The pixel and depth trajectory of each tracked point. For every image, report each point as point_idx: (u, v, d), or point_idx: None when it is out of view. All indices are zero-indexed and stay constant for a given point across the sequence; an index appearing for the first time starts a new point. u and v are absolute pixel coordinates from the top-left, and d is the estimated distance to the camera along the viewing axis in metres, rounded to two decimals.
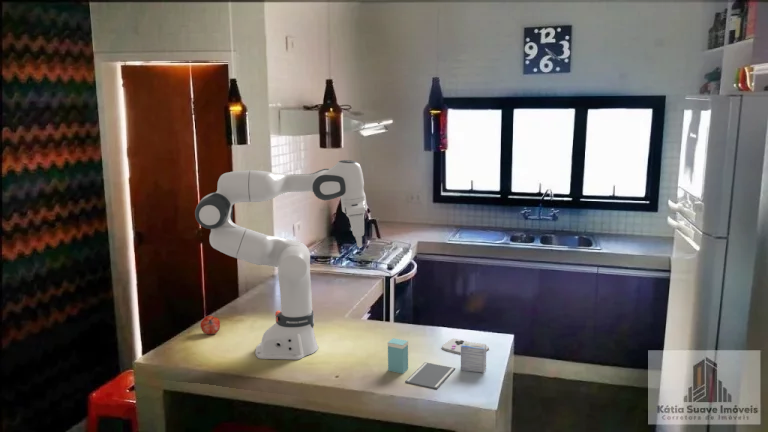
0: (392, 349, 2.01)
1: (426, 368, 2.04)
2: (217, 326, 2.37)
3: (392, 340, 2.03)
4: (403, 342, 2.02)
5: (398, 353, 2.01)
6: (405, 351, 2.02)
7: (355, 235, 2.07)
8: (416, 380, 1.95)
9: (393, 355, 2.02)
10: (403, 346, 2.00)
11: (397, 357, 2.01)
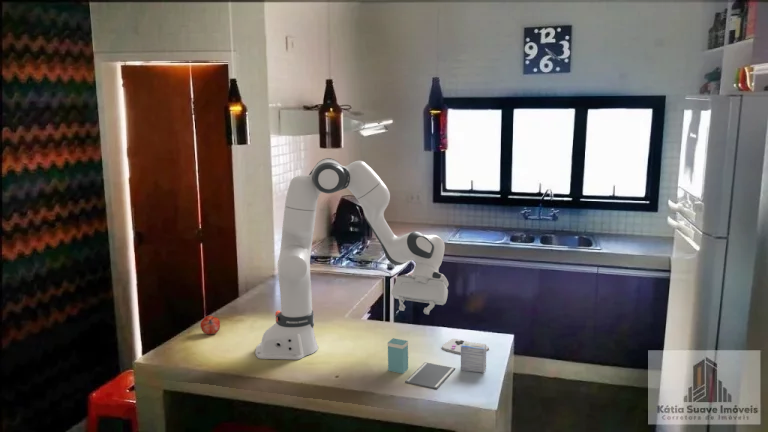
0: (392, 349, 2.01)
1: (426, 368, 2.04)
2: (217, 326, 2.37)
3: (392, 340, 2.03)
4: (403, 342, 2.02)
5: (398, 353, 2.01)
6: (405, 351, 2.02)
7: (442, 300, 2.09)
8: (416, 380, 1.95)
9: (393, 355, 2.02)
10: (403, 346, 2.00)
11: (397, 357, 2.01)
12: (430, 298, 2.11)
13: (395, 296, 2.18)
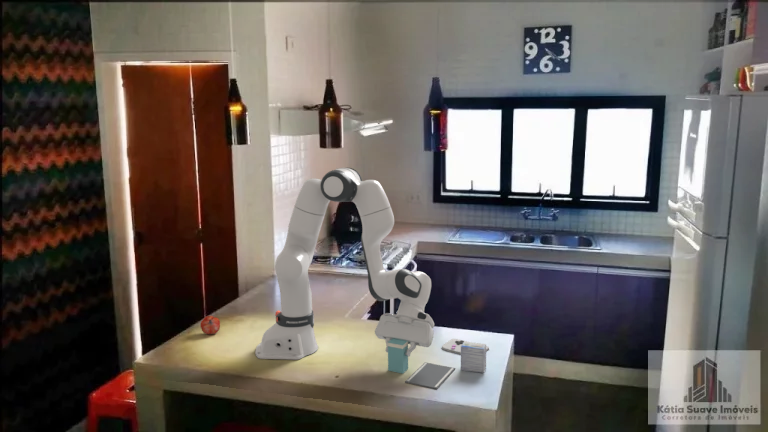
0: (392, 349, 2.01)
1: (426, 368, 2.04)
2: (217, 326, 2.37)
3: (392, 340, 2.03)
4: (403, 342, 2.02)
5: (398, 353, 2.01)
6: None
7: (427, 342, 2.00)
8: (416, 380, 1.95)
9: (393, 355, 2.02)
10: (403, 346, 2.00)
11: (397, 357, 2.01)
12: (415, 340, 2.01)
13: (378, 336, 2.08)
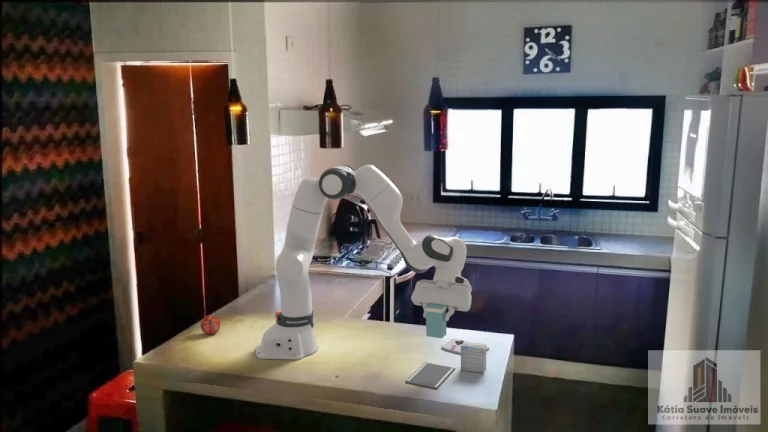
0: (430, 314, 1.99)
1: (426, 368, 2.04)
2: (217, 326, 2.37)
3: (430, 305, 2.01)
4: (441, 306, 1.99)
5: (437, 318, 1.98)
6: None
7: (466, 306, 1.97)
8: (416, 380, 1.95)
9: (432, 320, 1.99)
10: (442, 310, 1.97)
11: (436, 322, 1.98)
12: (453, 304, 1.98)
13: (415, 302, 2.06)
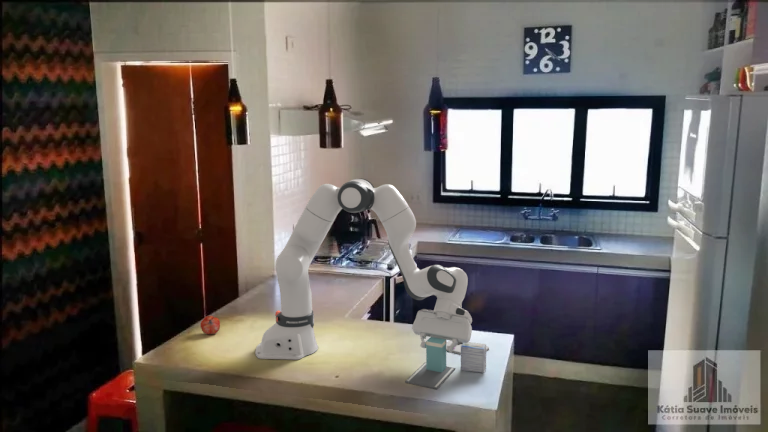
0: (431, 348, 2.01)
1: None
2: (217, 326, 2.37)
3: (430, 339, 2.03)
4: (442, 341, 2.01)
5: (437, 352, 2.00)
6: (443, 350, 2.01)
7: (466, 338, 1.99)
8: (416, 380, 1.95)
9: (432, 354, 2.01)
10: (442, 345, 1.99)
11: (436, 356, 2.01)
12: (453, 336, 2.00)
13: (416, 332, 2.08)
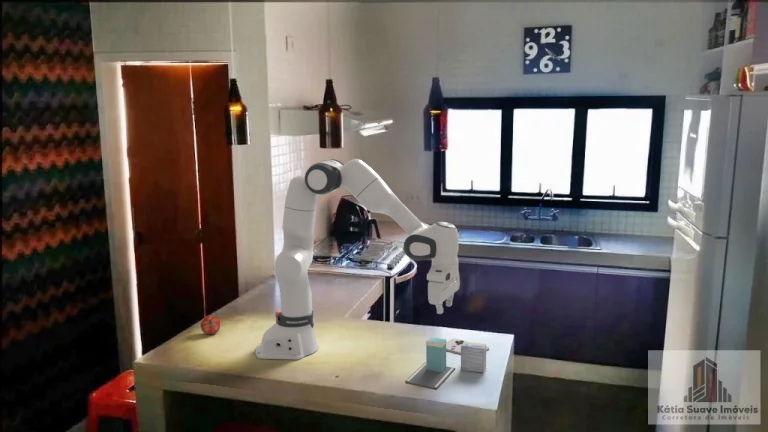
0: (431, 348, 2.01)
1: None
2: (217, 326, 2.37)
3: (430, 339, 2.03)
4: (442, 341, 2.01)
5: (437, 352, 2.00)
6: (443, 350, 2.01)
7: (430, 302, 1.98)
8: (416, 380, 1.95)
9: (432, 354, 2.01)
10: (442, 345, 1.99)
11: (436, 356, 2.01)
12: None
13: None
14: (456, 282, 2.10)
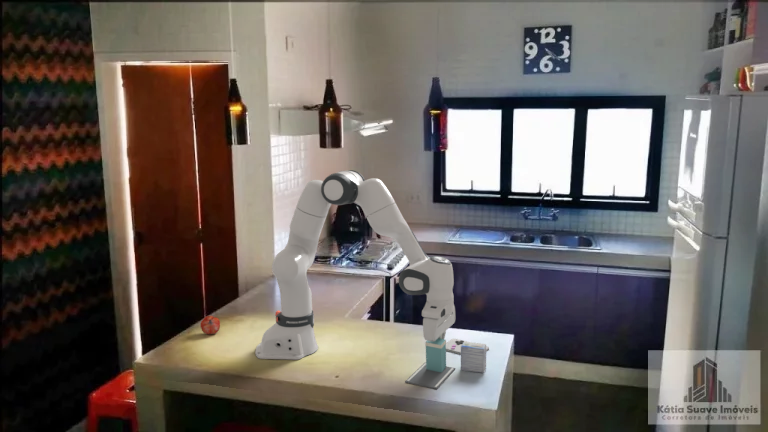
0: (430, 348, 2.00)
1: None
2: (217, 326, 2.37)
3: None
4: (441, 341, 2.00)
5: (436, 352, 2.00)
6: (443, 350, 2.00)
7: (425, 339, 1.96)
8: (416, 380, 1.95)
9: (432, 355, 2.01)
10: (441, 346, 1.99)
11: (435, 356, 2.00)
12: None
13: None
14: (452, 316, 2.08)
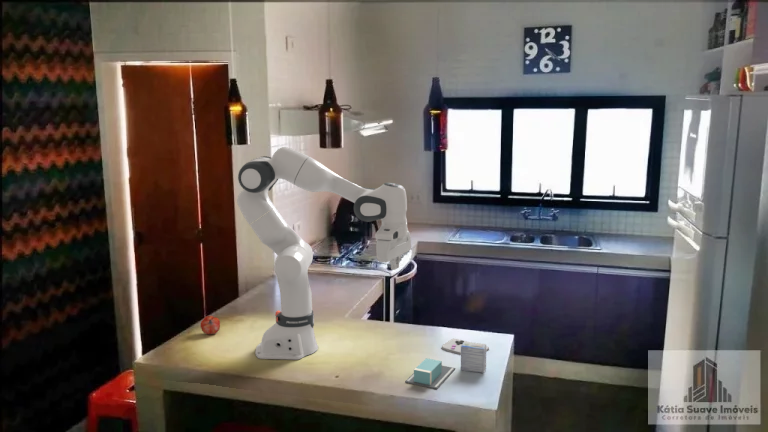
0: None
1: None
2: (217, 326, 2.37)
3: (415, 375, 1.94)
4: (427, 378, 1.92)
5: None
6: (433, 375, 1.94)
7: (378, 260, 2.03)
8: None
9: None
10: (430, 382, 1.92)
11: None
12: None
13: None
14: (407, 243, 2.16)
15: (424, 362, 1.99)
